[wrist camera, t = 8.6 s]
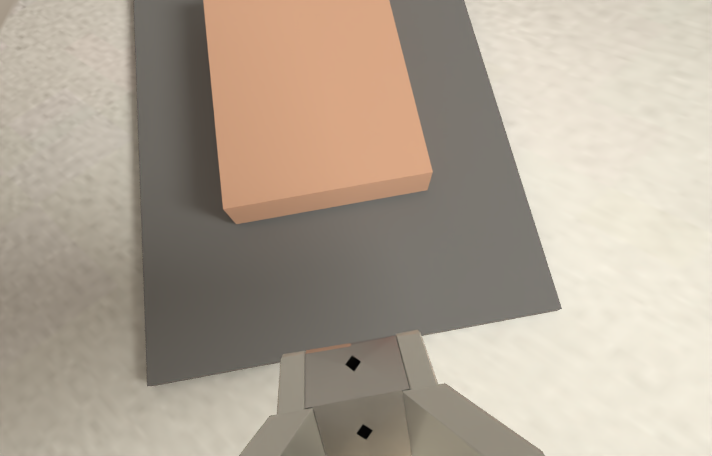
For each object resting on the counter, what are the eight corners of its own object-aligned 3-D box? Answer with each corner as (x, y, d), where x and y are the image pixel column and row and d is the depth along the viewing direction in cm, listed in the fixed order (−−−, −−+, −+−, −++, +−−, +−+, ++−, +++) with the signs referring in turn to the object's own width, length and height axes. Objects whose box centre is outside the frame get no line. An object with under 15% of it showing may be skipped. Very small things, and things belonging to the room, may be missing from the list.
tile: (432, 172, 20) (378, -41, 23) (223, 209, 20) (202, -12, 23) (426, 192, 22) (378, -6, 26) (237, 226, 22) (216, 21, 25)
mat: (556, 310, 21) (561, 308, 20) (153, 385, 20) (147, 386, 20) (441, -58, 27) (442, -67, 27) (138, -8, 27) (133, -16, 26)
